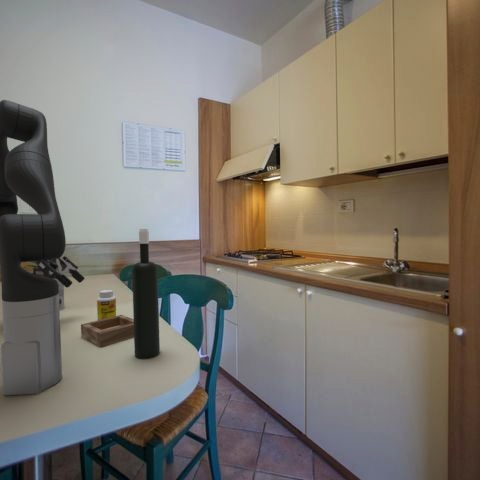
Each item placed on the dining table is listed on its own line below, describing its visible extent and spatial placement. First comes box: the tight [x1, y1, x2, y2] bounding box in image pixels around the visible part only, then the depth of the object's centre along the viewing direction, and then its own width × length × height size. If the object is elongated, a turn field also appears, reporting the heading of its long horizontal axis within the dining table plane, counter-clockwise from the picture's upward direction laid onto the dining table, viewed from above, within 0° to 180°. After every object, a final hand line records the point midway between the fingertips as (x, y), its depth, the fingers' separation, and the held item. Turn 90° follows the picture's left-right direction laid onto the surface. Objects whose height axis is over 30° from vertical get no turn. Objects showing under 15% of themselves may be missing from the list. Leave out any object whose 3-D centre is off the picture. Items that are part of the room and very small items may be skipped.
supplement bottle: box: [96, 289, 117, 321], centre depth 100 cm, size 6×6×10 cm
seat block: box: [80, 314, 134, 348], centre depth 87 cm, size 12×12×4 cm
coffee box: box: [32, 267, 65, 311], centre depth 117 cm, size 9×6×16 cm
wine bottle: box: [131, 228, 161, 360], centre depth 73 cm, size 6×6×30 cm
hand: (76, 283), depth 99 cm, fingers open, 8 cm apart
